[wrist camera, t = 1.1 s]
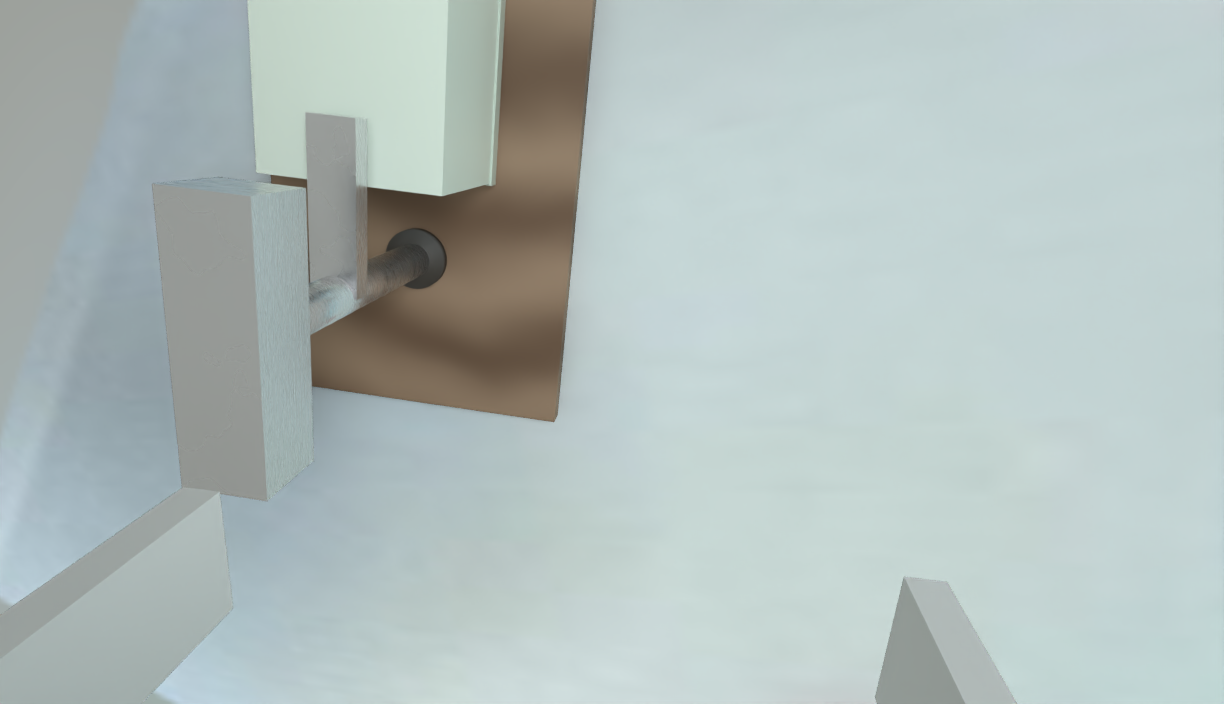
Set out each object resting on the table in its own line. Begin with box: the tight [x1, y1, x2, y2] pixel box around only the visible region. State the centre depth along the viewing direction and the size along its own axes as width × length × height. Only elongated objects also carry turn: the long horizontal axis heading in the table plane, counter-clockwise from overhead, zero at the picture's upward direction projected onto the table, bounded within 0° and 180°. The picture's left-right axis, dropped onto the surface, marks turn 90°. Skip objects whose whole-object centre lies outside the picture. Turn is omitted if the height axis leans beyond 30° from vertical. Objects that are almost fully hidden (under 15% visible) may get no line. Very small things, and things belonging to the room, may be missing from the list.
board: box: [271, 0, 596, 422], centre depth 37 cm, size 24×16×2 cm
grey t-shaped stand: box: [152, 112, 429, 501], centre depth 29 cm, size 12×3×16 cm, turn 174°
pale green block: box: [247, 0, 506, 196], centre depth 31 cm, size 10×8×8 cm
